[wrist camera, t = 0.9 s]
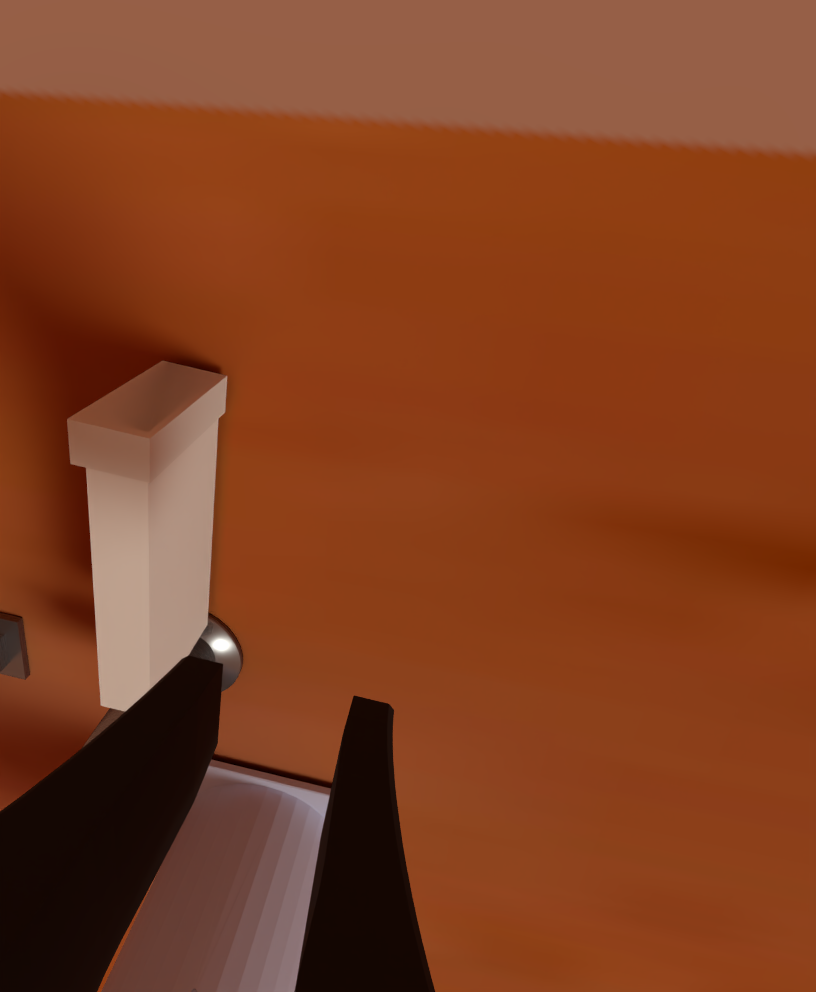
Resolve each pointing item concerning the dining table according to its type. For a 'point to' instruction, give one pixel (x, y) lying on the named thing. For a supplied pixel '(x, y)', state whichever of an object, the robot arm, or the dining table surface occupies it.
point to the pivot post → (210, 646)
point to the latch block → (13, 647)
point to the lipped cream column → (149, 520)
